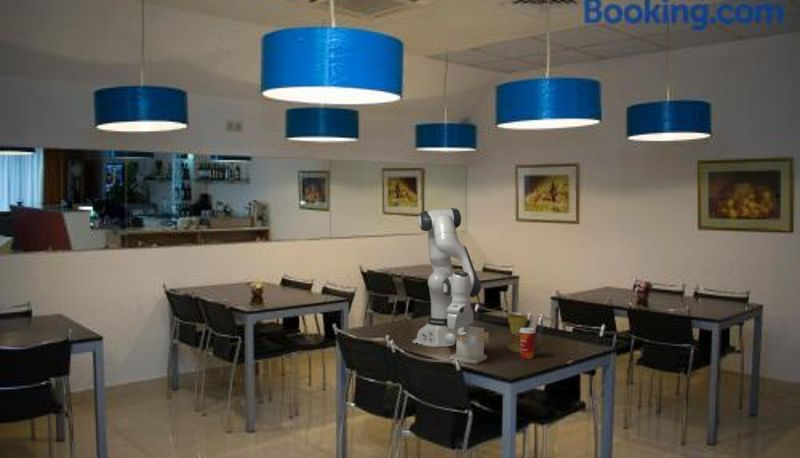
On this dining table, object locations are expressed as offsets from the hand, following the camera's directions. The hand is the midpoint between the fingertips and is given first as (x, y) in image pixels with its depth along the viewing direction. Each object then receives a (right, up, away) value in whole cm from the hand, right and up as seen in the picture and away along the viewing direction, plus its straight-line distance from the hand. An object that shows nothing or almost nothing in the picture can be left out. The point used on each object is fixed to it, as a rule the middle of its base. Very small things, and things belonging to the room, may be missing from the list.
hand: (460, 336), depth 308 cm
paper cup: (+33, -12, +10) cm, 36 cm away
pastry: (+33, -11, +29) cm, 45 cm away
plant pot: (+38, -9, +66) cm, 77 cm away
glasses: (+3, -4, +5) cm, 8 cm away
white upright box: (+4, -12, +6) cm, 14 cm away
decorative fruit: (+11, -11, +22) cm, 27 cm away
